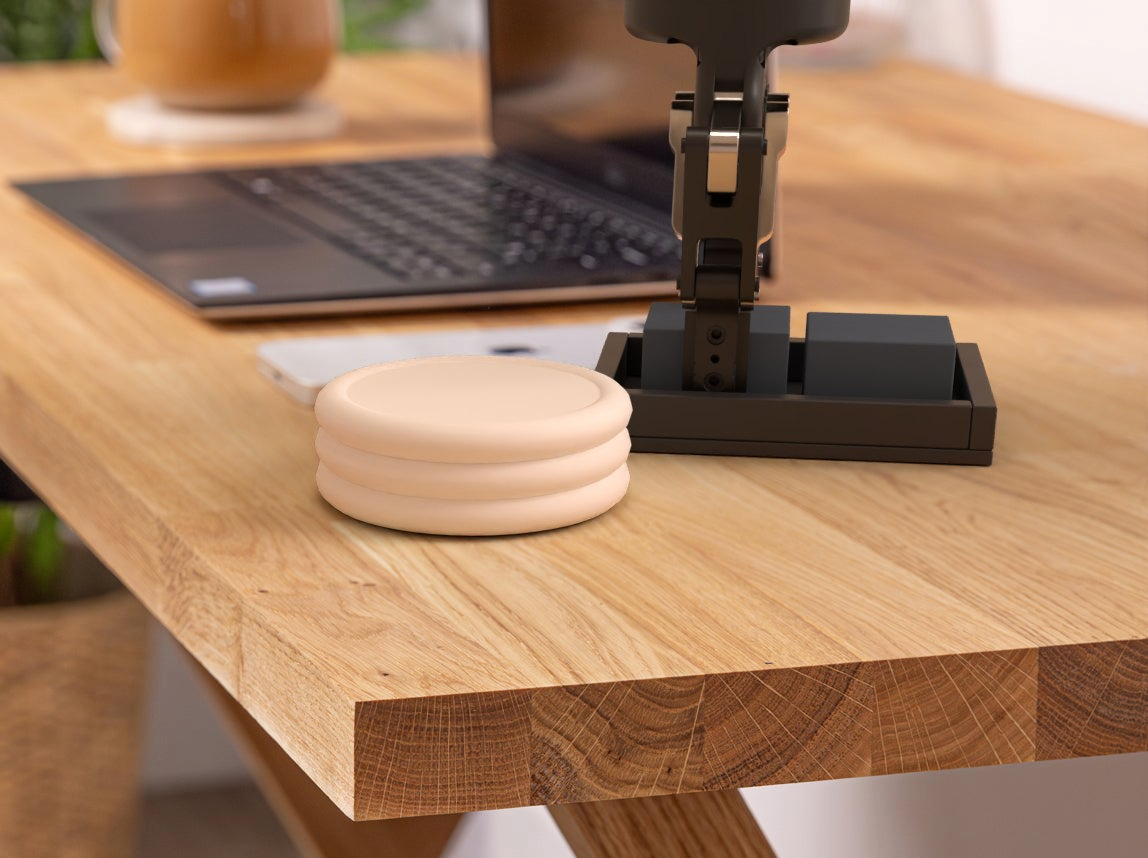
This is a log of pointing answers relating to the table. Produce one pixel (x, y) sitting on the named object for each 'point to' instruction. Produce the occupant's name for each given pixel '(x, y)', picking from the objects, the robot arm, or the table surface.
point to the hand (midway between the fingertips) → (715, 396)
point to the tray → (808, 416)
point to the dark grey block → (763, 358)
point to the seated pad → (878, 356)
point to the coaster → (473, 444)
